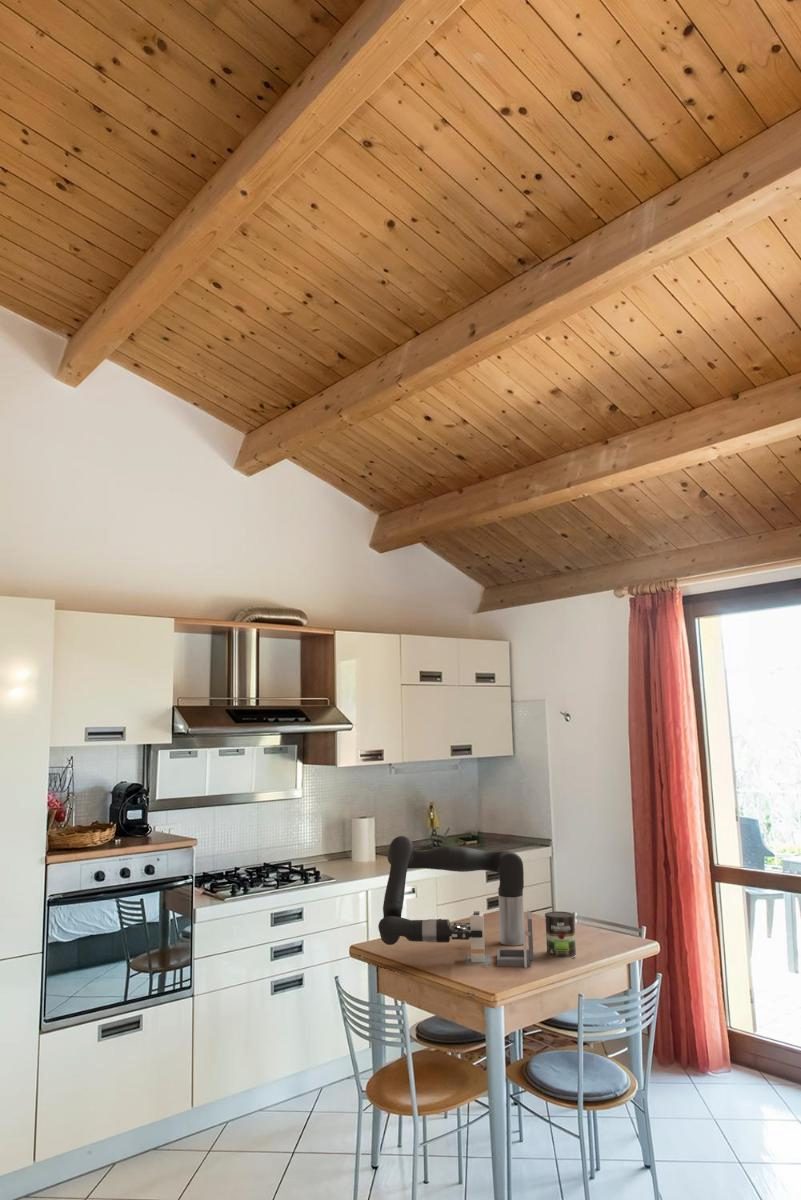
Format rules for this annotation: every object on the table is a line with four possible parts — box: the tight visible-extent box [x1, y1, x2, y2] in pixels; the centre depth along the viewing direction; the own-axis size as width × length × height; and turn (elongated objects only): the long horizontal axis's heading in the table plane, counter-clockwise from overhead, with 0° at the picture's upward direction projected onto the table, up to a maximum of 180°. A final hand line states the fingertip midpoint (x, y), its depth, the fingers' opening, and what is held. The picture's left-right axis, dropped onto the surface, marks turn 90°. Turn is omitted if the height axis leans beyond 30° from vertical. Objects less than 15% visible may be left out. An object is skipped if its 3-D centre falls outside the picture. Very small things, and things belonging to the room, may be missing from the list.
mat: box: [465, 955, 491, 966], centre depth 281 cm, size 12×8×1 cm, turn 173°
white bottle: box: [469, 910, 486, 962], centre depth 283 cm, size 5×4×16 cm
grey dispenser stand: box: [496, 910, 535, 969], centre depth 280 cm, size 15×12×16 cm
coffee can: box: [544, 911, 577, 959], centre depth 290 cm, size 10×10×14 cm
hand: (482, 931), depth 283 cm, fingers open, 8 cm apart
